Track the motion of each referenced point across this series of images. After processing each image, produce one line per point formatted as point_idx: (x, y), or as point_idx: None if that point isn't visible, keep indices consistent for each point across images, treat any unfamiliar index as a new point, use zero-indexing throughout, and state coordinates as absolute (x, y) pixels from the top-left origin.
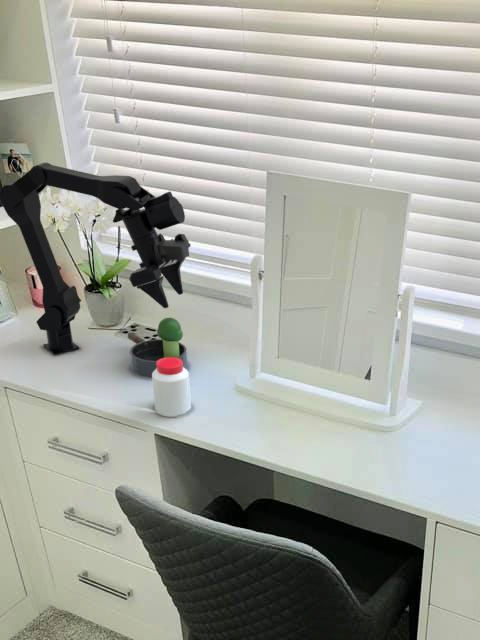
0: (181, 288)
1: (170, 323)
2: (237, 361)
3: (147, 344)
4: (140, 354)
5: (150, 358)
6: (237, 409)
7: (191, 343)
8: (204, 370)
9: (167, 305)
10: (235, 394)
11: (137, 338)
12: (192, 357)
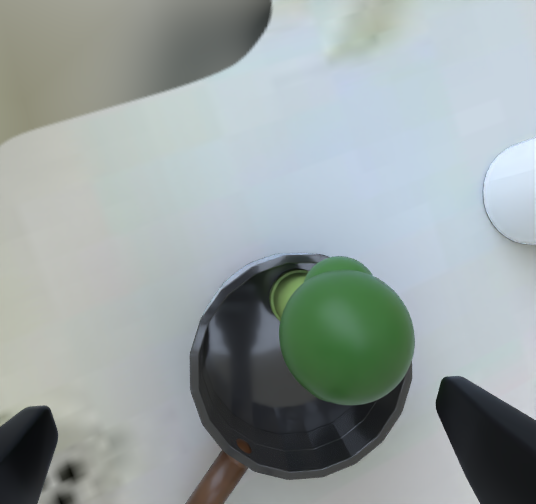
0: (2, 448)
1: (400, 321)
2: (155, 108)
3: (236, 441)
4: (266, 439)
5: (249, 402)
6: (482, 11)
7: (55, 325)
8: (264, 195)
9: (473, 385)
10: (395, 43)
11: (219, 502)
12: (176, 273)
